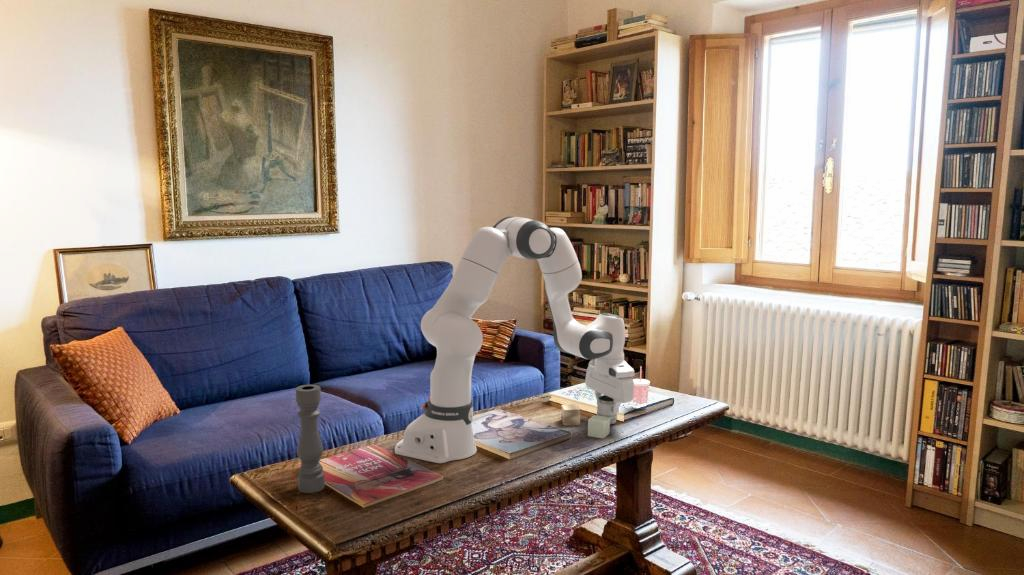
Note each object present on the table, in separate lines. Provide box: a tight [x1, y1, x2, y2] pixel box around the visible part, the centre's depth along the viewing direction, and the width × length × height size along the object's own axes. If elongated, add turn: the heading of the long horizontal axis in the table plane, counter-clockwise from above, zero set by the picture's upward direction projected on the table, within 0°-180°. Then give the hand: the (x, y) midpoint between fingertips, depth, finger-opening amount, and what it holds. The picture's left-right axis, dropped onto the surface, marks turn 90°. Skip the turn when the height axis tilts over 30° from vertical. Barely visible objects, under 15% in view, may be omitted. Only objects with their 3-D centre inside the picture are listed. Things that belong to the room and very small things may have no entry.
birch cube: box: [560, 403, 581, 426], centre depth 223 cm, size 5×5×5 cm
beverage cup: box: [631, 365, 651, 404], centre depth 237 cm, size 6×6×14 cm
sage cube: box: [587, 414, 611, 439], centre depth 213 cm, size 5×5×5 cm
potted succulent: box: [596, 394, 618, 425], centre depth 223 cm, size 6×6×8 cm
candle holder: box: [295, 384, 326, 494], centre depth 173 cm, size 6×6×25 cm
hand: (607, 408), depth 223 cm, fingers closed on potted succulent, 6 cm apart
